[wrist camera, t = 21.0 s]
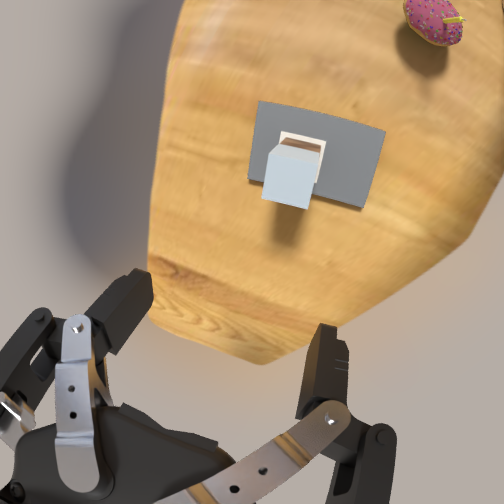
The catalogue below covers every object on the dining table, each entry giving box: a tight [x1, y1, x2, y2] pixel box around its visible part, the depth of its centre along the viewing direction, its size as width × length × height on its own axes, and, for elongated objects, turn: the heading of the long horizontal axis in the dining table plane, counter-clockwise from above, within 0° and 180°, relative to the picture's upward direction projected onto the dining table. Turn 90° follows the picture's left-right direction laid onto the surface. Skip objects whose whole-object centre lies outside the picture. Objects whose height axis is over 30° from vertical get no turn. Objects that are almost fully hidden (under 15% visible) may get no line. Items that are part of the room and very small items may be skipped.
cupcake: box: [403, 0, 466, 46], centre depth 17 cm, size 9×8×12 cm
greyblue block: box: [262, 144, 320, 209], centre depth 30 cm, size 5×5×6 cm
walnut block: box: [280, 137, 321, 157], centre depth 35 cm, size 5×5×6 cm
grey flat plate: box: [247, 101, 386, 208], centre depth 37 cm, size 18×12×1 cm, turn 82°
